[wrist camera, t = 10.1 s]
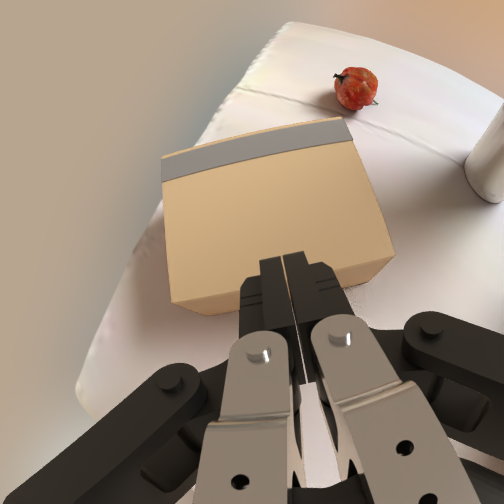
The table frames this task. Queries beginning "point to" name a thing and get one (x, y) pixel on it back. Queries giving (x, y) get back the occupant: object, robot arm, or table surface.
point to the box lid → (267, 207)
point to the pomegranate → (355, 87)
